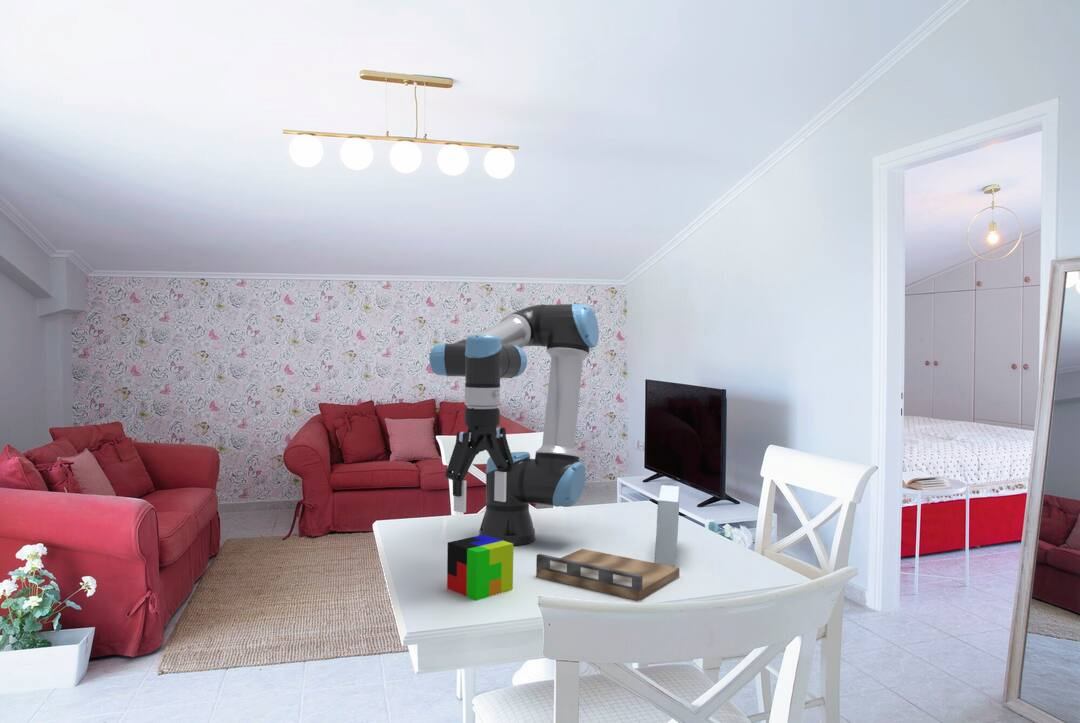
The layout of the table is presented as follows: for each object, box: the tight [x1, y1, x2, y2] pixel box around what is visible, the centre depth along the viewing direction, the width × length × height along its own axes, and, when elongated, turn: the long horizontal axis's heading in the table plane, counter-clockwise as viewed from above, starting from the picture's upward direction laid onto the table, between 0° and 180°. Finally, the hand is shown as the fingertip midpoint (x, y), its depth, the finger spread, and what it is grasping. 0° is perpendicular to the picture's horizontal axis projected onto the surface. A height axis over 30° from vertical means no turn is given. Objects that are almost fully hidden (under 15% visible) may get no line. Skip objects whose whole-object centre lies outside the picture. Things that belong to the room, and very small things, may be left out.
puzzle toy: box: [446, 534, 514, 601], centre depth 158 cm, size 10×10×10 cm
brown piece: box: [535, 548, 680, 601], centre depth 167 cm, size 26×20×5 cm
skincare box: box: [653, 484, 680, 567], centre depth 186 cm, size 21×6×16 cm, turn 168°
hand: (480, 506), depth 157 cm, fingers open, 13 cm apart
